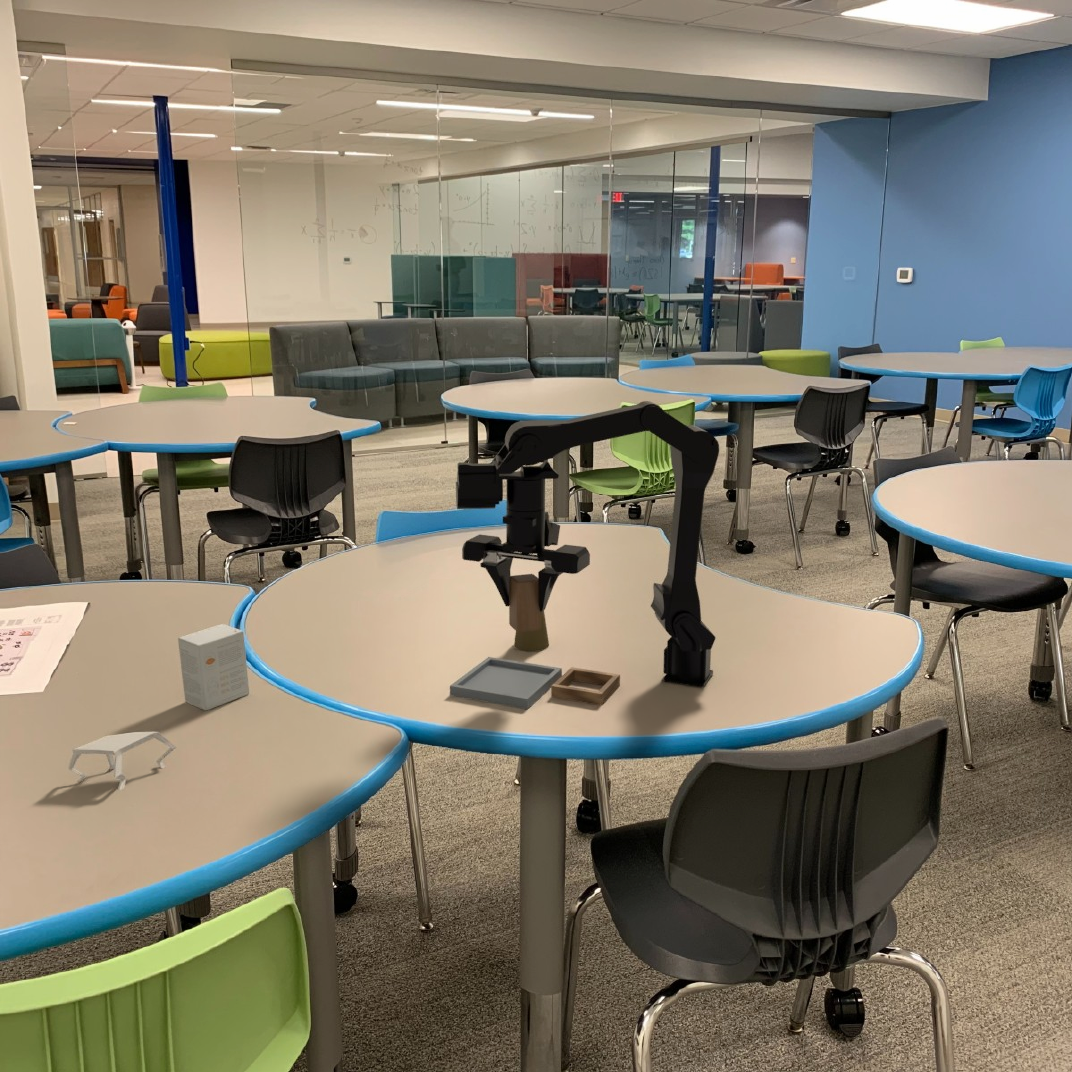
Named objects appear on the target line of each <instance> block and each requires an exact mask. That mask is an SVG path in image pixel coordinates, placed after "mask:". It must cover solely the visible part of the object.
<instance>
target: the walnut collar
mask: <svg viewBox="0 0 1072 1072" xmlns="http://www.w3.org/2000/svg"><path fill="white" fill-rule="evenodd" d="M574 681H575V682H581V683H589V684H596V685H600V686H602V687H601V688H600V689H599V690H592V689H586V688H581V687H575V686H570V685H571V684H572V683H573V682H574ZM620 686H621V675H620V674H618V673H610V672H604V671H599V670H592V669H587V668H578V667H573V666H572V667H570V668H569V669H568V670H567V671H566V672H565V673H564V674H562V676H561V677H560V678H559V679H558V680H557V681H556V682H555V683H554V684H553V685H552V686H551V688H550V690H551V693H550V694H551V698H556V699H561V700H567V701H574V702H579V703H586V704H591V705H598V706H602V705H603V704H604V703H606V701H607V700H608V699H609V698H610V697H611V696H612V695H613V694H614V693H615V691H616V690H617V689H618V688H619V687H620Z"/></svg>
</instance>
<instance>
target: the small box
mask: <svg viewBox="0 0 1072 1072" xmlns="http://www.w3.org/2000/svg"><path fill="white" fill-rule="evenodd" d="M177 640H178V641H177V643H178V649H179V659H180V669H181V677H182V678H181V679H182V685H183V695H184V701H185V703H188V704H189V705H192V706H194V707H196V708H198V709H201V710H203V711H208V710H212V709H215V708H217V707H219V706H222V705H224V704H227V703H229V702H232V701H234V700H236V699H240V698H242V697H244V696H247V695H249V694H250V687H249V676H248V665H247V655H246V643H245V635H244V630H241V629H238V628H236V627H233V626H229V625H227V624H225V623H220V624H218V625H213V626H211V627H208V628H204V629H202V630H198V631H195V632H191V633H189V634H186V635H183V636H179V637H178V639H177Z"/></svg>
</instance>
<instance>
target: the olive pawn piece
mask: <svg viewBox="0 0 1072 1072" xmlns="http://www.w3.org/2000/svg"><path fill="white" fill-rule="evenodd" d="M514 635H515V636H514V645H513V647H514V649H516V650H518V651H523V652H539V651H543V650H546V649H548V648H549V646H550V643H549V634H548V628H547V622H546V614H545V610H544V611H541V629H540V630H536V631H527V632H517V631H516V630H515V634H514Z"/></svg>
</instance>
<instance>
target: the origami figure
mask: <svg viewBox="0 0 1072 1072" xmlns="http://www.w3.org/2000/svg"><path fill="white" fill-rule="evenodd" d="M153 739H156V740H157V741H159V742H161V743H163V744H164V745H166V746H168V747H169V748H168V750H166V751H165V752H164V753H163V754H162V755H161V756H160V757H159V758H158V759H157V760H156V763H157V765H158V766H159V768H160V769H164V768H166V766H165V764H164V763H163V762H162V760H164V759H165V758H166V757H167V756H168V755H170V754H171V753H172V752H173V751H174V750H175V749H176V748H177V747H176V746H175V744H173V743H172V742H171V741H170V740H168V739H167V737H165V736H163V735H162V734H161V733H160V732H159V731H138V732H137V731H136V732H135V731H134V732H133V731H132V732H128V733H127V732H126V733H119V734H112V735H105V736H103V737H101V738H97V739H95V740H92V741H91V742H88V743H86V744H83V745H81V746H79V747H75V748H73V749H72V756H71V758H70V761H69V764H68V770H69V771H71V772H73V773H75V774H76V775H79V776H81V778H80V779H79V780H78V782H79V783H81V782H84V780H85V779H86V778H87V776H88V775H85V774H84V773H83V772H81V771H79V770H77V769H76V768H74V766H75V765H76V762H77V761H78V759H79V758H80V756H81V755H82V754H84V755H95V754H96V755H106V758H107V762H108V764H109V767H108V770H109V771H112V770H113V777H114V778H115V779H119V784H118V787H117V790H118V791H121V790H123V789H124V788H125V785H126V780H127V776H125V775H124V774H123V769H122V768H123V753H126V752H127V751H130V750H132V749H134V748H136V747H139V746H140V745H142V744H145V743H146V742H149V741H151V740H153ZM114 755H115V759H114Z"/></svg>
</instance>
